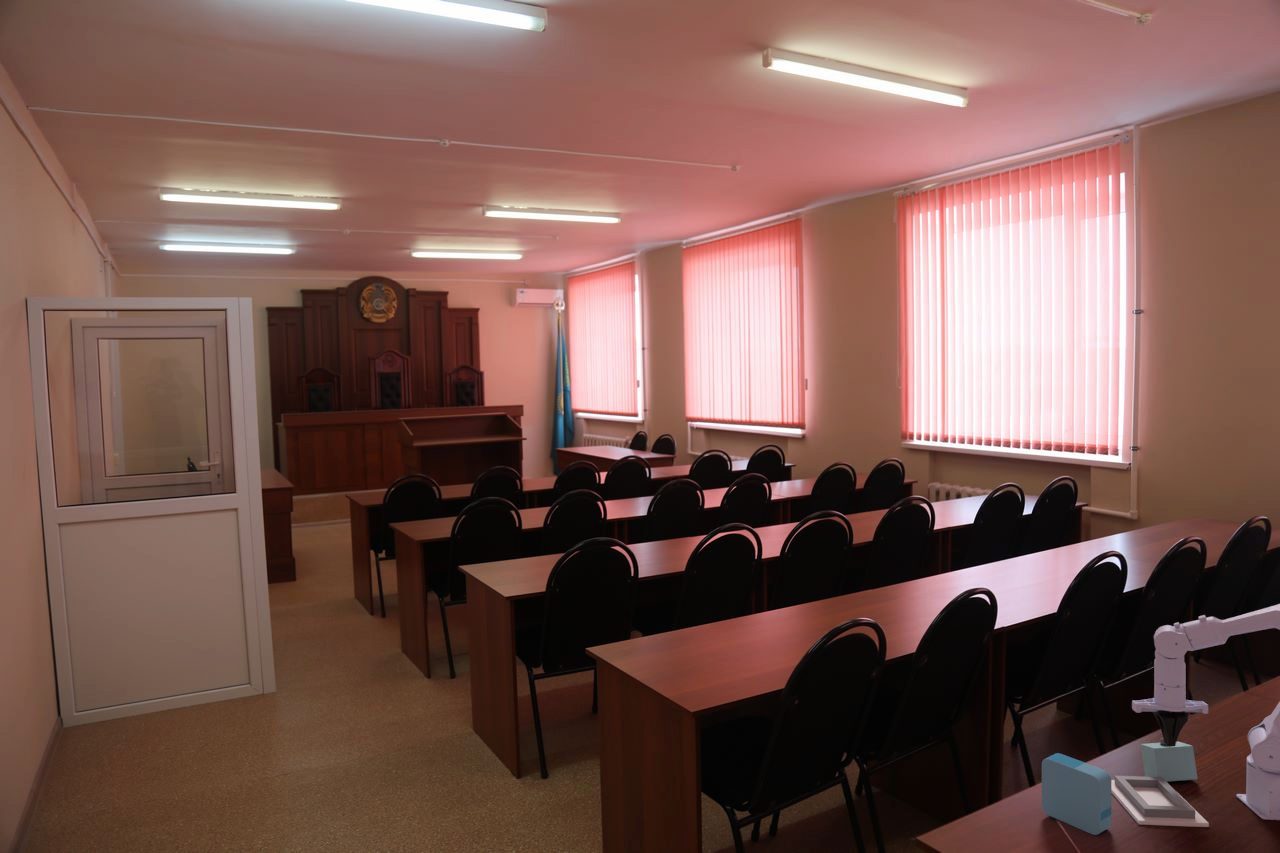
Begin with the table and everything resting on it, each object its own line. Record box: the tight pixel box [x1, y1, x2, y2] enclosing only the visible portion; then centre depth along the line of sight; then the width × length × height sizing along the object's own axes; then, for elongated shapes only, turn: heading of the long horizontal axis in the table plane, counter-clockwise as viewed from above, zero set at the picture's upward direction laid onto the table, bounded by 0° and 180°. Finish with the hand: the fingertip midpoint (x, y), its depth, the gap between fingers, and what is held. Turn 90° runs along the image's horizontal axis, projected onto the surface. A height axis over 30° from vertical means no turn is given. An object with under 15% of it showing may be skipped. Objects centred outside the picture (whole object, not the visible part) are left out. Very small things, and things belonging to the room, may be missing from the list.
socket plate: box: [1111, 775, 1210, 828], centre depth 174 cm, size 17×13×2 cm
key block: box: [1140, 737, 1198, 782], centre depth 184 cm, size 4×9×8 cm, turn 95°
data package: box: [1041, 752, 1112, 836], centre depth 168 cm, size 12×4×12 cm, turn 33°
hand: (1169, 744), depth 179 cm, fingers closed
